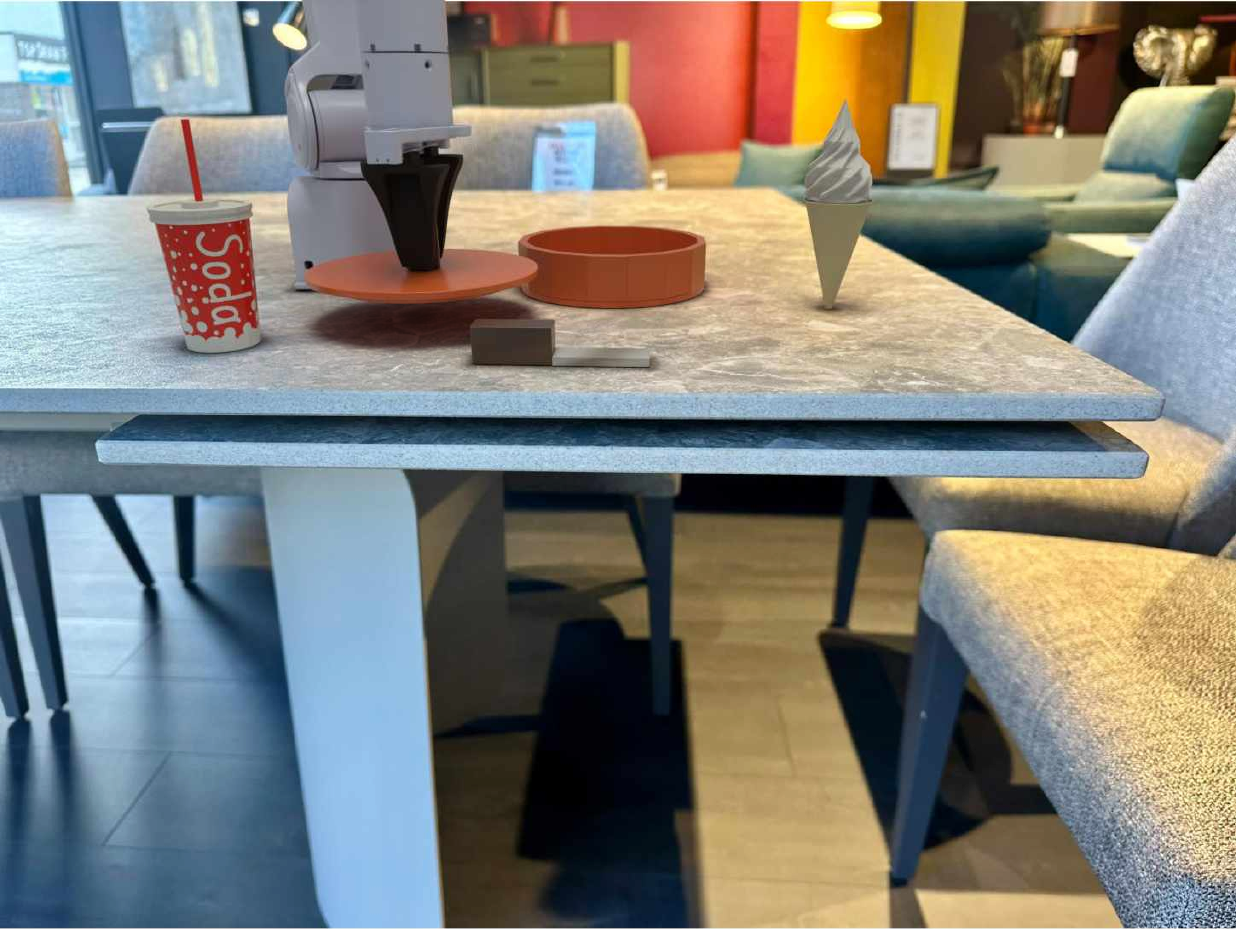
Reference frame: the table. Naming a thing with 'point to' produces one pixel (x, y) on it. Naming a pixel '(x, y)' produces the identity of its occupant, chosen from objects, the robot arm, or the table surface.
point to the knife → (541, 346)
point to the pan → (614, 266)
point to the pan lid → (421, 276)
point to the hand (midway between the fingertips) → (422, 262)
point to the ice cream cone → (837, 202)
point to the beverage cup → (209, 265)
